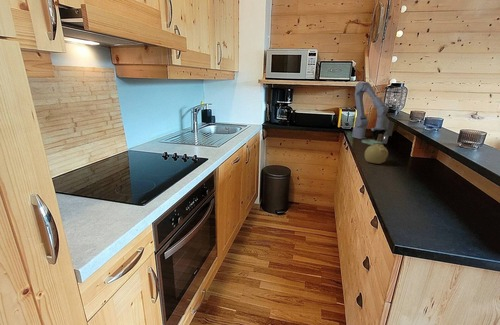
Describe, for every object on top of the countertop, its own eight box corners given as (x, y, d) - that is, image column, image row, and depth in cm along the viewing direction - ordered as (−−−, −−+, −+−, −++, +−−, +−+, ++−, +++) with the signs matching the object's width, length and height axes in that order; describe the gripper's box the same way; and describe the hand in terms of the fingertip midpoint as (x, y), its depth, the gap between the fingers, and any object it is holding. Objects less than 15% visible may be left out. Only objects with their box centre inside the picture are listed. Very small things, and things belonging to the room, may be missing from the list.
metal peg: (380, 143, 196) (382, 135, 194) (384, 142, 197) (385, 134, 195) (384, 144, 193) (386, 136, 191) (388, 143, 194) (389, 135, 192)
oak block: (373, 140, 201) (374, 133, 200) (377, 140, 203) (378, 133, 201) (377, 142, 198) (378, 134, 196) (381, 141, 199) (382, 133, 198)
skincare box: (378, 134, 227) (381, 116, 222) (385, 134, 229) (388, 116, 225) (386, 136, 220) (389, 117, 215) (392, 136, 222) (396, 117, 217)
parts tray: (361, 142, 197) (361, 140, 196) (370, 141, 200) (370, 139, 200) (374, 145, 186) (374, 143, 186) (383, 144, 190) (383, 142, 189)
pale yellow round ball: (389, 166, 142) (392, 147, 139) (365, 164, 144) (368, 145, 141) (383, 160, 153) (386, 142, 149) (361, 158, 155) (364, 141, 152)
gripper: (377, 123, 190) (374, 141, 194) (391, 122, 195) (388, 139, 199) (370, 121, 196) (367, 139, 200) (383, 120, 201) (381, 137, 205)
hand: (377, 139), depth 200 cm, fingers closed on oak block, 4 cm apart
